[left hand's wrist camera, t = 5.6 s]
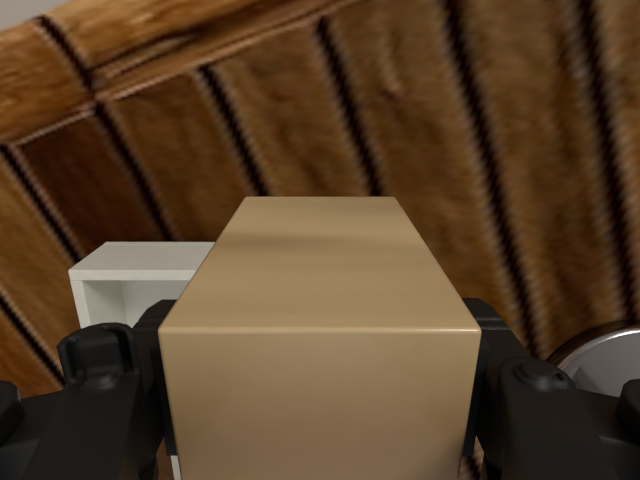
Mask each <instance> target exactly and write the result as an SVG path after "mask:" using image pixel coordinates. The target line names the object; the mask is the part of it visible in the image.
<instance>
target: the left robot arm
mask: <svg viewBox="0 0 640 480" xmlns="http://www.w3.org/2000/svg"><path fill="white" fill-rule="evenodd" d="M461 299H462V300H463V302H464V303H465V305H466V307H467V308H468V310H469V311H470V313H471V314H472V316H473V317H474V319H475V320H476V322H477V323H478V325H479V326H480V328H481V338H480V345H479V351H478V357H477V364H476V370H475V377H474V383H473V389H472V396H471V402H470V408H469V415H468V421H467V427H466V434H465V440H464V446H463V453H462V456H473V450H474V444H475V438H476V435H477V438H478V440H479V442H480V444H481V447H482V449H483V451H484V458H483V463H482V469H481V474H480V480H640V320H634V319H633V320H622V321H615V322H611V323H607V324H603V325H600V326H597V327H595V328H592V329H590V330H588V331H586V332H584V333H582V334H580V335H578V336H576V337H575V338H573V339H572V340H570V341H569V342H567V343H566V344H565V345H564V346H562V347H561V348H560V349H559V350H558V351H557V352H556V353H555V354H554V355H553V356H552V357H551V358H550V359H549V360H548V362H546V361H544V360H540V359H536V358H532V357H531V356H530V354H529V353H528V352H527V350H526V349H525V348H524V347H523V345H522V344H521V343H520V341H519V340H518V339H517V338H516V336H515V335H514V334H513V332H512V331H511V330H509V327H508V326H507V325H506V323H505V322H504V321H502V318H501V317H500V316H499V314H498V313H497V312H496V311H495V309H494V308H493V307H492V306H490V305H488V304H487V303H485V302H484V301H482V300H480V299H479V298H461ZM176 301H177V299H162V300H160V301H158V302H157V303H155V304H154V305H152V306H151V307H149V308H147V309H146V311H145V312H144V313H143V314H142V316H141V317H140V318H139V320H138V322H136V324H135V325H134V326H133V327H132V328H131V327H130V326H129V325H127V324H123V323H118V322H108V323H100V324H95V325H90V326H87V327H85V328H82V329H79V330H77V331H75V332H73V333H71V334H70V335H68V336H66V337H65V338H63V340H62V341H61V342H60V343H59V344H58V345H57V350H58V354H59V358H60V362H61V366H62V370H63V374H64V377H65V381H66V384H65V387H64V389H63V390H61V391H57V392H53V393H48V394H44V395H39V396H34V397H29V398H24V399H21V398H20V395H19V392H18V389H17V386H15V385H14V384H13V383H11V382H8V381H1V380H0V480H158V474H159V470H158V463H157V458H156V453H157V450H158V448H159V446H160V444H161V441H162V439H163V437H164V440H165V446H166V452H167V456H177V450H176V444H175V438H174V432H173V425H172V419H171V413H170V406H169V400H168V394H167V387H166V381H165V375H164V368H163V362H162V356H161V350H160V343H159V337H158V329H159V327H160V325H161V324H162V322H163V321H164V319H165V318H166V316H167V315H168V313H169V311H170V310H171V308H172V307H173V305H174V304H175V302H176Z"/></svg>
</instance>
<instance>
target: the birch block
mask: <svg viewBox="0 0 640 480" xmlns="http://www.w3.org/2000/svg"><path fill="white" fill-rule="evenodd" d="M158 337H159V343H160V350H161V356H162V362H163V368H164V375H165V381H166V387H167V394H168V400H169V406H170V413H171V419H172V425H173V432H174V438H175V444H176V450H177V457H178V463H179V469H180V476H181V480H458V478H459V472H460V465H461V459H462V453H463V446H464V440H465V434H466V427H467V421H468V415H469V408H470V402H471V396H472V389H473V383H474V377H475V370H476V364H477V357H478V351H479V345H480V338H481V328H480V326H479V325H478V323H477V322H476V320H475V319H474V317H473V316H472V314H471V313H470V311H469V310H468V308H467V307H466V305H465V303H464V302H463V300H462V299H461V297H460V296H459V294H458V293H457V291H456V290H455V288H454V287H453V285H452V284H451V282H450V281H449V279H448V278H447V276H446V275H445V273H444V271H443V270H442V268H441V267H440V265H439V264H438V262H437V261H436V259H435V258H434V256H433V255H432V253H431V252H430V250H429V249H428V247H427V246H426V244H425V242H424V241H423V239H422V238H421V236H420V235H419V233H418V232H417V230H416V229H415V227H414V226H413V224H412V223H411V221H410V220H409V218H408V217H407V215H406V214H405V212H404V210H403V209H402V207H401V206H400V204H399V203H398V201H397V200H396V198H395V197H245V198H244V200H243V201H242V203H241V204H240V206H239V207H238V209H237V210H236V212H235V213H234V215H233V216H232V218H231V219H230V221H229V222H228V224H227V225H226V227H225V228H224V230H223V231H222V233H221V234H220V236H219V237H218V239H217V241H216V242H215V244H214V245H213V247H212V248H211V250H210V251H209V253H208V254H207V256H206V257H205V259H204V260H203V262H202V263H201V265H200V266H199V268H198V269H197V271H196V272H195V274H194V275H193V277H192V278H191V280H190V281H189V283H188V284H187V286H186V287H185V289H184V290H183V292H182V293H181V295H180V296H179V298H178V299H177V301H176V302H175V304H174V305H173V307H172V308H171V310H170V311H169V313H168V315H167V316H166V318H165V319H164V321H163V322H162V324H161V325H160V327H159V329H158Z"/></svg>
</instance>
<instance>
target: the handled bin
mask: <svg viewBox="0 0 640 480" xmlns="http://www.w3.org/2000/svg"><path fill="white" fill-rule="evenodd" d="M214 244H215V242H106V243H104V244H103V245H102V246H101V247H99V248H98V249H96V250H95V251H94V252H92V253H91V254H90V255H88V256H87V257H86V258H84V259H83V260H82V261H80V262H79V263H77V264H76V265H75V266H73V267H72V268H71V269H69V270H68V272H69V277H70V280H71V281H70V282H71V286H72V291H73V295H74V299H75V304H76V308H77V313H78V317H79V321H80V326H81V329H82V328H85V327H87V326H90V325H95V324H100V323H108V322H118V323H123V324H127V325H129V326H130V327H131V328H132V327H133V326H134V325H135V324H136V322H138V320H139V318H140V317H141V316H142V314H143V313H144V312H145V311H146V309H147V308H149V307H151V306H152V305H154V304H155V303H157V302H158V301H160V300H162V299H178V298H179V296H180V295H181V293H182V292H183V290H184V289H185V287H186V286H187V284H188V283H189V281H190V280H191V278H192V277H193V275H194V274H195V272H196V271H197V269H198V268H199V266H200V265H201V263H202V262H203V260H204V259H205V257H206V256H207V254H208V253H209V251H210V250H211V248H212V247H213V245H214ZM171 461H172V467H173V473H174V480H181V476H180V469H179V463H178V457H177V456H171Z"/></svg>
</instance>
